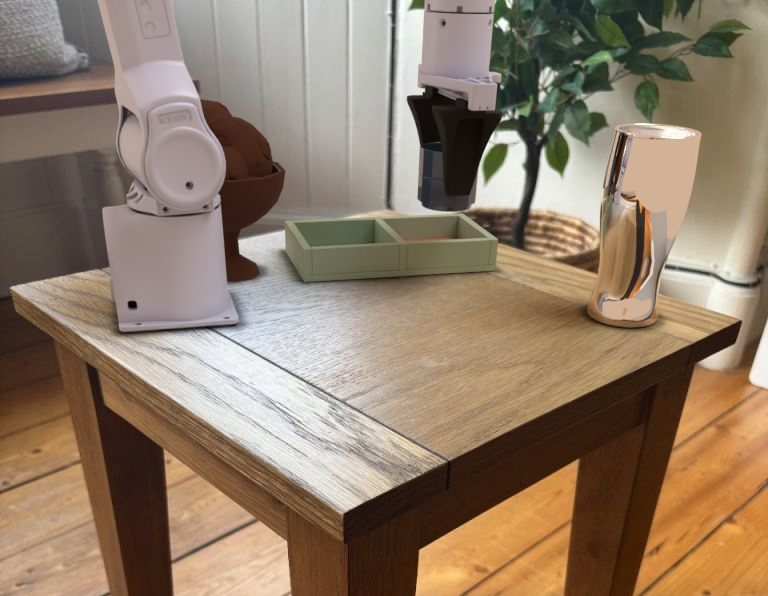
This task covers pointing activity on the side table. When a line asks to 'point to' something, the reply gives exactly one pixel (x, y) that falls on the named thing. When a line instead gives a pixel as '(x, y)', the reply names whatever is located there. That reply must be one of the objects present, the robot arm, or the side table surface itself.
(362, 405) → the side table surface
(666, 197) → the beer glass
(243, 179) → the ice cream bowl
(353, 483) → the side table surface
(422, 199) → the handleless cup
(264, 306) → the side table surface
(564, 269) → the side table surface
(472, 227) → the tray
